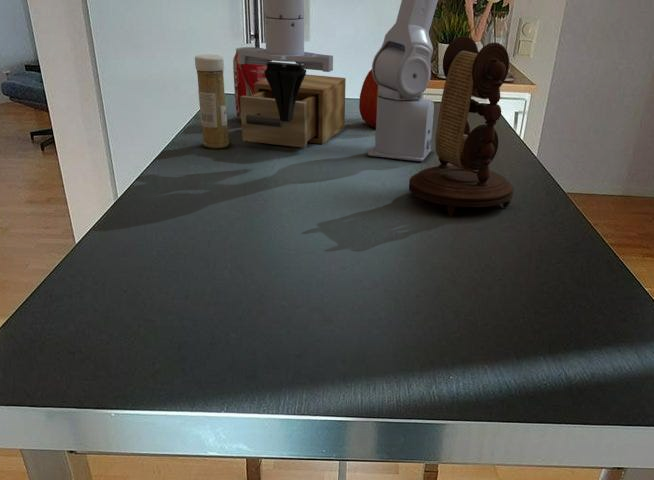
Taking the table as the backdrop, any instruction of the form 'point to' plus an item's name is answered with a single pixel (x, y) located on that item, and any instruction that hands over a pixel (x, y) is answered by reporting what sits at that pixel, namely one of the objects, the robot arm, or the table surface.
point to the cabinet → (322, 103)
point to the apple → (369, 100)
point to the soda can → (246, 79)
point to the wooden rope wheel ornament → (467, 130)
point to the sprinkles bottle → (212, 100)
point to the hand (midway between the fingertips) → (286, 120)
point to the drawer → (278, 120)
